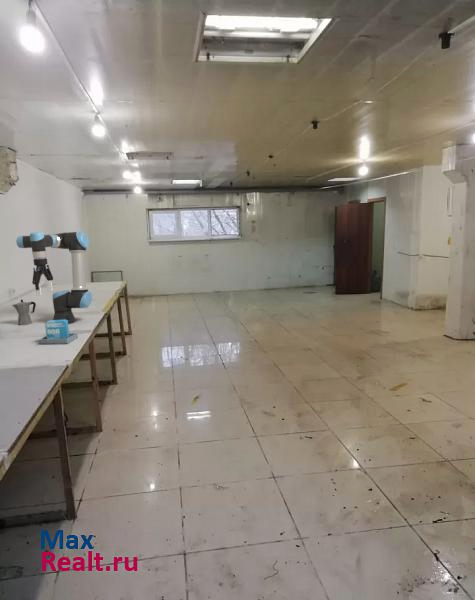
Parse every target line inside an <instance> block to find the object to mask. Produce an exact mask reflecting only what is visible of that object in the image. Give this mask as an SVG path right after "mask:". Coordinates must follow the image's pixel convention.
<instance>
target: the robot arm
mask: <svg viewBox="0 0 475 600" xmlns="http://www.w3.org/2000/svg"><path fill="white" fill-rule="evenodd" d="M16 245H17V248H20V249H31V251H32V252H31V253H32V258H33V265H34V266H36V267H33V273H32V274H33V275H32V282H31V283H32V285H34V287H35V293H36V296H42V289H41V284H40V282H41V278H42V276H44V277H45V279H46V287H47V292H53V290H54V289H53V284H52V282H53V280H54V276H53V273H52V272H51V269H50V265H49V264H48V259H47V256H48V255H47V250H46V249H47V248H51V249H61V250H62V249H63V250H68V252H69V253H70V255H71V273H72V274H71V275H72V288H71V289H70V290H69V289H65V290H59V291H56V292H53V293H52V303H53V312H54V315H53V318H52V320H63V319H66V320H67V321H68V325H70V324H74V323H75V322H76V317H75V315H74V313H73V311H72V309H87V308H89V307H90V305H91V303H92V299H93V296H92V293H91V292H90V291H89V289H88V287H86V285H87V284H86V283H87V282H86V268H85V267H86V266H85V265H86V264H85V253H86V252H87V249H88V248H89V247H90V239H89V237H88V235H87V233H85V232H83V231H72V232H59V233H55V234H50V233H49V234H44V232H42V231H40V232H39V231H38V232H31V233H30V234H29V235H20V236H18V237H17V238H16Z"/></svg>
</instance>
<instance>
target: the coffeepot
mask: <svg viewBox="0 0 475 600" xmlns="http://www.w3.org/2000/svg"><path fill="white" fill-rule="evenodd" d="M31 305H33V306H32V311H30V306H31ZM11 306H12V307H13V308H14V309H15V310H16V312H17V314H18V315H17V325H18V326H27V325H28V326H29V325H30V324H32V323H33V321H32V319H31V315H30V313H31V314H33V313H35V310H36V306H37V302H34V301H28V302H25V301H24V299H20V302H19V303H15V304H12V305H11Z"/></svg>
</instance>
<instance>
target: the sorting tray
mask: <svg viewBox="0 0 475 600" xmlns="http://www.w3.org/2000/svg"><path fill="white" fill-rule="evenodd" d="M78 338H79V337H78V333H77V332H76V333H74V332H69V338H67V339H47V335H45V336H43V337H41V338H39V339H38V340H37V341H38V345H41V346H42V345H45V346H46V345H50V346H51V345H68V344H70V343H72V342H74V341H75V340H77V339H78Z"/></svg>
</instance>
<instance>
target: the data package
mask: <svg viewBox="0 0 475 600" xmlns="http://www.w3.org/2000/svg"><path fill="white" fill-rule="evenodd" d="M44 327H45V333H46V335H45V336H47V339H67V338H69V333H70V328H69V324H68V321H67V320H66V319H63V320H53V319H52V320H50V319H49V320H47V321H46V322H45V324H44Z"/></svg>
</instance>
